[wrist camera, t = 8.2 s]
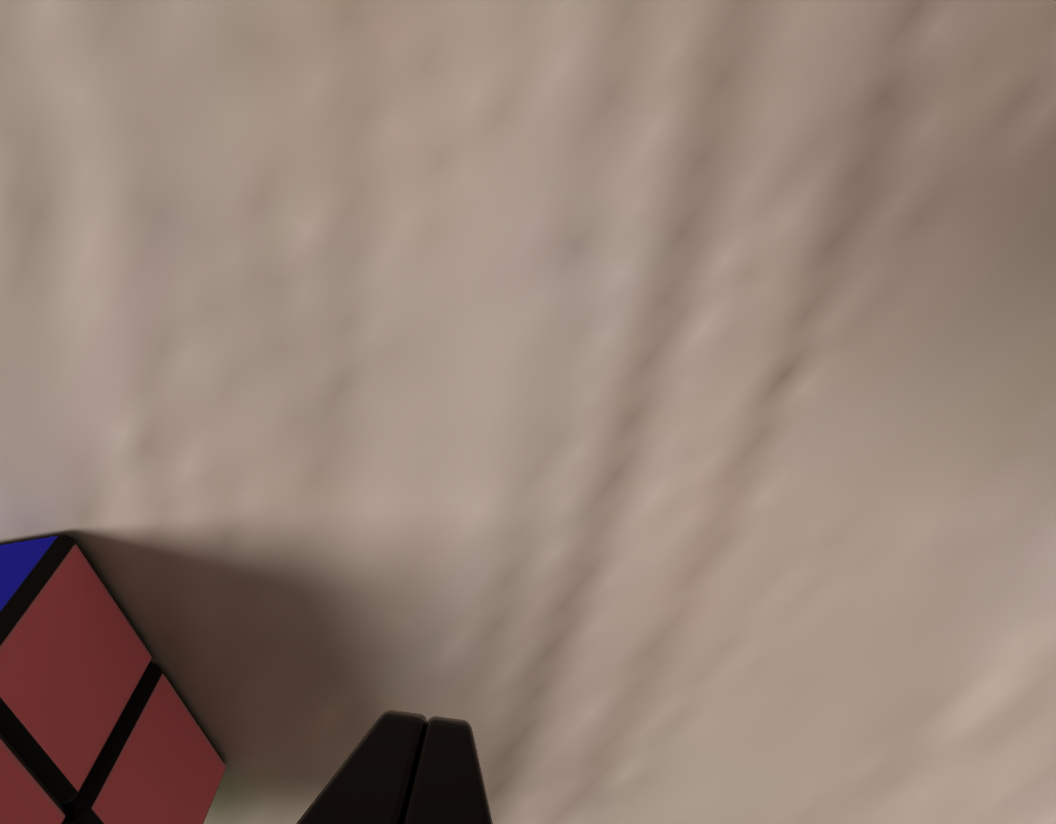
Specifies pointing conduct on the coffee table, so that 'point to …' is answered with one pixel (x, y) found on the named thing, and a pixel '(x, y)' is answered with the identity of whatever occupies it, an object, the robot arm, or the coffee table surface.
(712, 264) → the coffee table surface
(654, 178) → the coffee table surface
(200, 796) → the puzzle cube
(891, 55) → the coffee table surface
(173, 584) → the coffee table surface
